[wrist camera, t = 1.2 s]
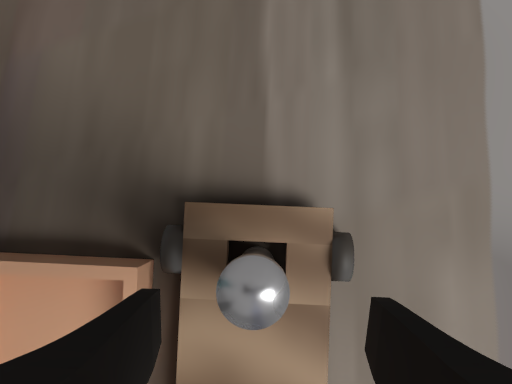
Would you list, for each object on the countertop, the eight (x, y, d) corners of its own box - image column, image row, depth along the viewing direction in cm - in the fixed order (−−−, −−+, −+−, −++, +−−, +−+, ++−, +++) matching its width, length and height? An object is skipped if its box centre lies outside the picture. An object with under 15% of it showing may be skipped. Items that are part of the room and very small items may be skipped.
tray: (144, 440, 23) (126, 474, 20) (-31, 429, 24) (-74, 461, 21) (153, 259, 24) (137, 267, 21) (-19, 251, 24) (-60, 258, 21)
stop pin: (281, 291, 24) (288, 332, 16) (230, 288, 24) (214, 328, 16) (283, 240, 24) (291, 257, 16) (232, 237, 24) (217, 254, 16)
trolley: (333, 514, 23) (355, 612, 17) (160, 503, 23) (128, 595, 18) (344, 208, 24) (368, 210, 18) (175, 201, 24) (148, 200, 18)
